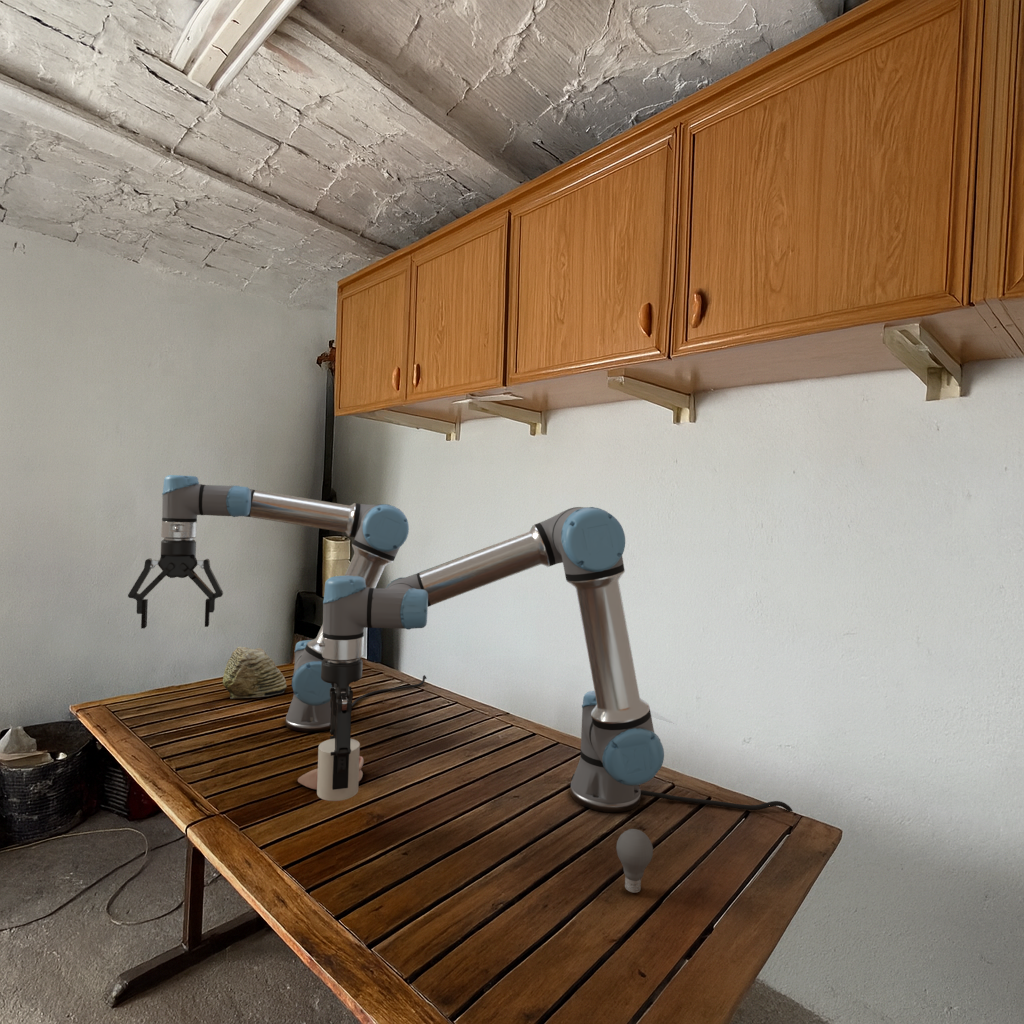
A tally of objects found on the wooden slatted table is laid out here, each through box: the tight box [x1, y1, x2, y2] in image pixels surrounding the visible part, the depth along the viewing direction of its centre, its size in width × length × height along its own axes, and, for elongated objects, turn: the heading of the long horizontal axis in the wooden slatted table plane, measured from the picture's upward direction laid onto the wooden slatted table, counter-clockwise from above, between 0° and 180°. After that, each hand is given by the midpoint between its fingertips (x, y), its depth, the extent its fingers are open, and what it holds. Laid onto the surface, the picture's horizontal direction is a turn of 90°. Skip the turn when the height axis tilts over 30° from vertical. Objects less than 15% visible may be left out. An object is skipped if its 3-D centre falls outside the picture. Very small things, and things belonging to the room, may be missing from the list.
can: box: [316, 738, 361, 802], centre depth 120 cm, size 8×8×9 cm
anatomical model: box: [297, 755, 364, 791], centre depth 142 cm, size 13×4×12 cm
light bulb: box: [615, 828, 654, 894], centre depth 106 cm, size 6×6×10 cm
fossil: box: [222, 646, 288, 699], centre depth 198 cm, size 9×18×15 cm, turn 132°
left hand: (175, 626), depth 153 cm, fingers open, 13 cm apart
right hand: (338, 778), depth 120 cm, fingers closed on can, 8 cm apart
